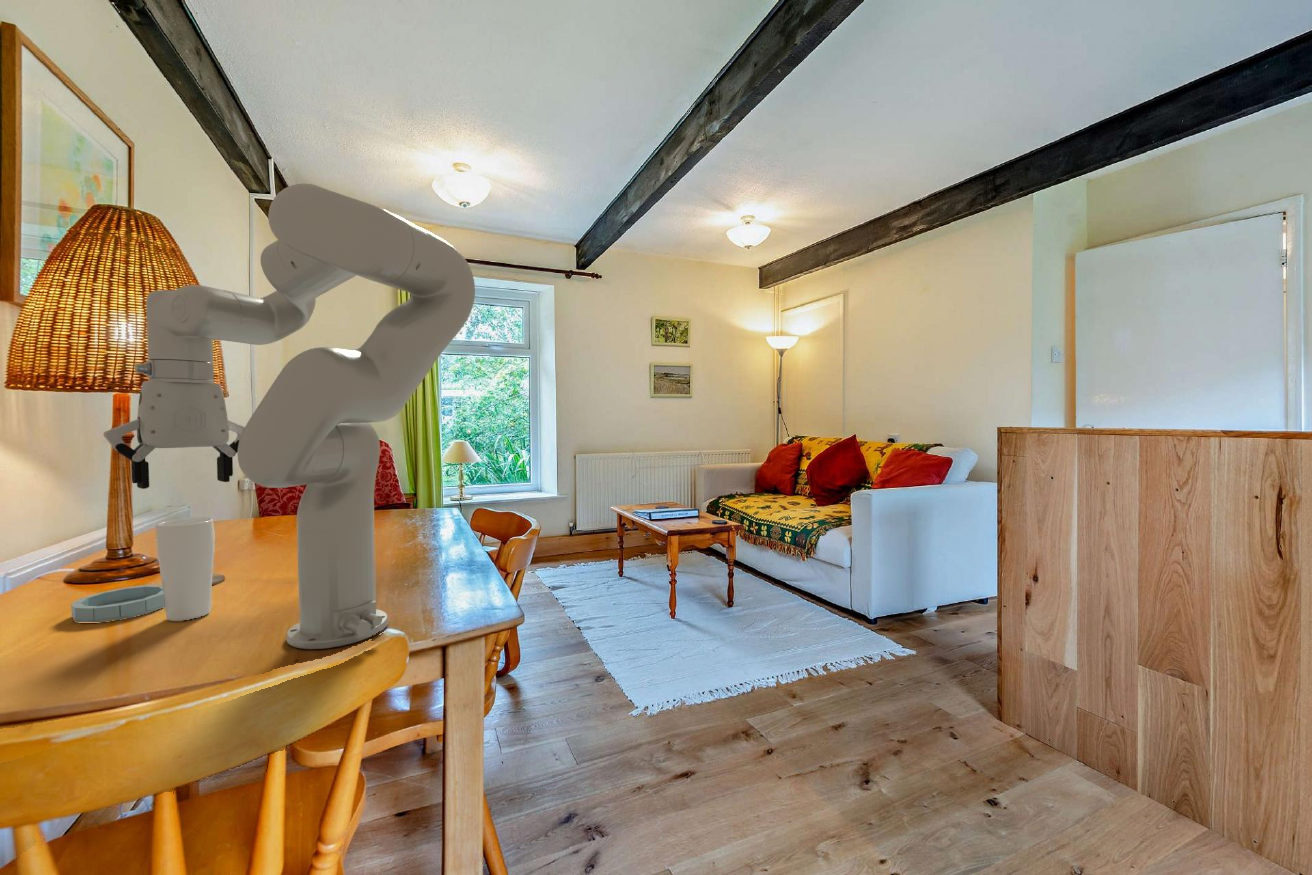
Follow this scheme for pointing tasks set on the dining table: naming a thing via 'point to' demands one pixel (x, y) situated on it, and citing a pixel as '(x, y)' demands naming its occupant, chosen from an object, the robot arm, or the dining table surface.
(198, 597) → the drinking glass
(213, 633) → the dining table surface
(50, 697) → the dining table surface
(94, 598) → the round dish
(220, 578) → the walnut coaster
